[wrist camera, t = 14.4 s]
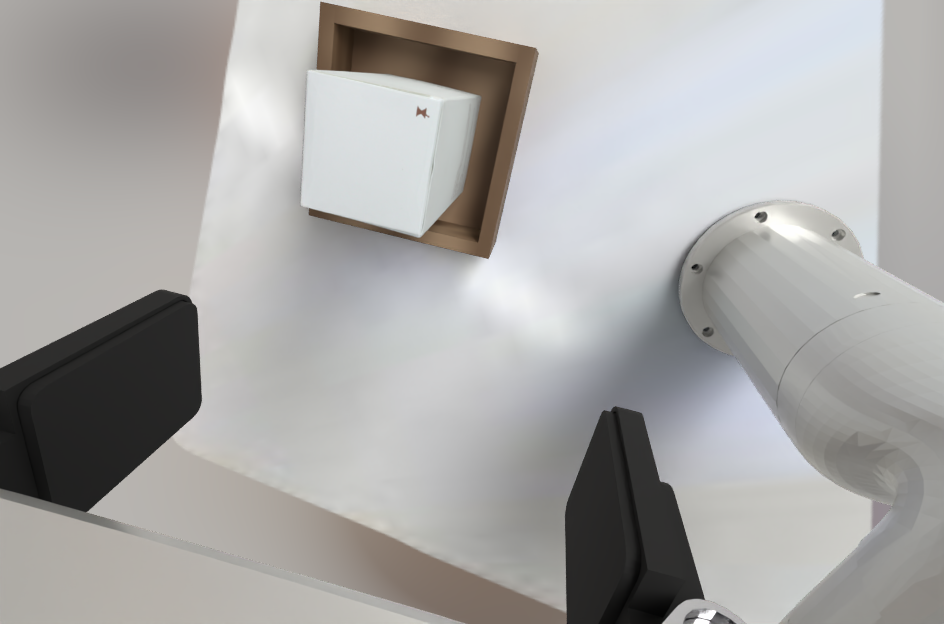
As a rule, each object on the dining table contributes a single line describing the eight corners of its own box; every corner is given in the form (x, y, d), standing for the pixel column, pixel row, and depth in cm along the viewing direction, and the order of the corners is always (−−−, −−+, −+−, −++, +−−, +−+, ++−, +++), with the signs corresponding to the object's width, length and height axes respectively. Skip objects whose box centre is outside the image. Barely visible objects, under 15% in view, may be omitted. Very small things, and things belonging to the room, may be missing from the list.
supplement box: (385, 71, 36) (303, 61, 24) (484, 95, 35) (449, 97, 24) (372, 173, 39) (295, 207, 27) (463, 196, 38) (423, 240, 27)
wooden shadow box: (538, 53, 35) (536, 48, 30) (495, 242, 41) (488, 258, 36) (347, 12, 35) (320, 1, 31) (333, 203, 41) (308, 215, 37)
